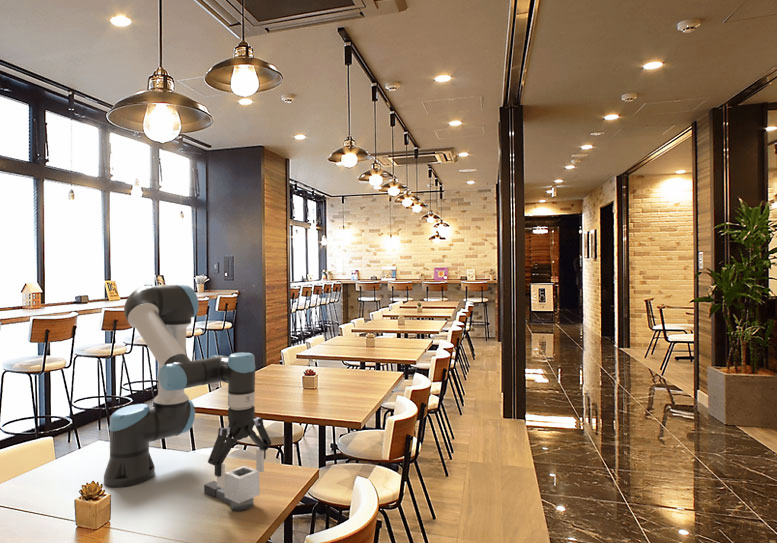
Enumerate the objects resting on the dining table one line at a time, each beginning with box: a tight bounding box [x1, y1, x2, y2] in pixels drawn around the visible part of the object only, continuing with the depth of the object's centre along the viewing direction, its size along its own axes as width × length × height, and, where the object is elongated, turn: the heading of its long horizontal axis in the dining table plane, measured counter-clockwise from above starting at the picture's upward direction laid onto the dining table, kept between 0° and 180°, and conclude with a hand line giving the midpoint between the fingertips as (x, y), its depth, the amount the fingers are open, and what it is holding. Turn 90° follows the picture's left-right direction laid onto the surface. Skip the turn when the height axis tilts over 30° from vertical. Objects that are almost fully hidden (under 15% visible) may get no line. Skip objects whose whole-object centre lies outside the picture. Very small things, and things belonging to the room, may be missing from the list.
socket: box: [225, 465, 260, 504], centre depth 141 cm, size 7×7×7 cm
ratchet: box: [203, 475, 254, 512], centre depth 146 cm, size 20×6×8 cm, turn 53°
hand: (241, 478), depth 142 cm, fingers open, 13 cm apart
